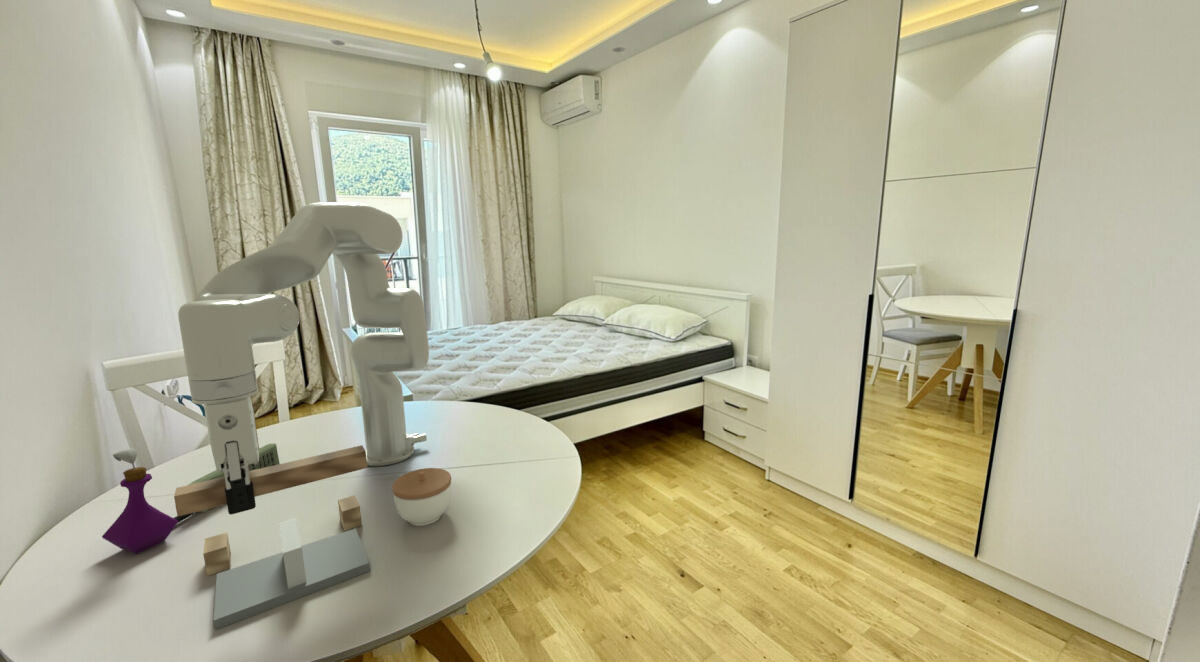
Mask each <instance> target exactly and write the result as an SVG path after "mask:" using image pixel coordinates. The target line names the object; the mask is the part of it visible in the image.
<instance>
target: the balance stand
mask: <svg viewBox="0 0 1200 662" xmlns="http://www.w3.org/2000/svg"><path fill="white" fill-rule="evenodd" d="M278 529H279V536H280V544H281V549H282V551H281V552H280V553H276V554H273V555H270V556H266V557H263V558H260V559H257V560H255V561H251V562H249V563H245V564H242V565H239V566H236V567H234V568H230V569H227V570H224V571H220V572H217V573H216V579H215V580H216V583H215V593H214V594H215V596H214V608H213V609H214V610H213V611H214V612H213V624H214V630H215V631H216V630H219V629H222V628H224V627H226V626H229V625H231V624H234V623H237V622H240V621H242V620H245V619H247V618H251V617H253V616H256V615H258V614H261V613H263V612H266V611H268V610H272V609H274V608H276V607H279V606H282V605H284V604H287V603H289V602H293V601H295V600H297V599H300V598H302V597H305V596H308V595H311V594H313V593H316V592H319V591H322V590H324V589H327V588H329V587H331V586H334V585H336V584H339V583H343V582H344V581H347V580H350V579H352V578H355V577H358V576H361V575H363V574H366V573H369V572H371V563H370V559H369V557H368V555H367V553H366V550H365V547H364V545H363V543H362V540H361V538H360V535H359V534H358V531H357V527H355V528H352V529H349V530H346V531H344V532H339V533H337V534H335V535H331V536H327V537H324V538H322V539H319V540H316V541H312V542H310V543H306V544H304V545H302V543H301V537H300V532H299V528H298V522H297V518H296V517H294V518H289V519H287V520H283V521H280V522H278Z"/></svg>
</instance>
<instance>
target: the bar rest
mask: <svg viewBox="0 0 1200 662" xmlns="http://www.w3.org/2000/svg"><path fill="white" fill-rule="evenodd" d="M337 504H338V512H339V513H338V514H339V520H340V523H341V525H342V527H343V531H344V532H346V531H349V530H352V529H355V528H358V527H361V526H363V524H362V523H363V521H362V514H361V513H362V512H361V505H360V503H359V501H358V499H357V497H356V495H351V496H347V497H344V498H340V499H338V500H337ZM202 553H203V560H204V566H205V571H206V575H207V576H212V575H214V574H218V573H221V572H224V571H227V570H230V569H231V567H232V566H231V562H232V561H231V559H232V551H231V546H230V539H229V534H228V532H223V533H221V534H216V535H213V536H210V537H207V538H204V544H203V552H202Z"/></svg>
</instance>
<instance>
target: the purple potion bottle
mask: <svg viewBox="0 0 1200 662" xmlns="http://www.w3.org/2000/svg"><path fill="white" fill-rule="evenodd" d="M137 454H138V453H137V450H136V449H135V448H129V449H124V450H121V451H118V452H115V453H113V454H112V457H113V458H114V459H115V460H116V461H118V462H121V461H123V462H126V463H128V464H131V465H132V468H128V469H127V470H124V471H123V472H122V474H123V476H124V479H122V480H121V481H120V482H119V484H120V487H123V488H126V489H127V490H128V499H127V502H126V505H125V508H124V509H123V511H122V512H121V513H120V514H119V516H118V517H117V519H116V520H115V521H114V522H113V523H112V525H110V527H108V529H107V530H106V531H105V532H104V533H103V534H102V536H101V538H102V539H104V540H105V541H107V542H109V543H110V544H112V545H114V546H115V547H118V548H119V549H121V550H123V551H125V552H129V553H132V554H136V555H138V554H141V553H143V552H146V551H147V550H149V549H151V548H153V547H155V546H157V545H159V544H162V543H163V542H165V541H166V539H168V537H169V535H170V534H171V533H172V532H173V530H174V529H175V527H176V525H177V524H178V520H176V519H174V517H172V516H170V515H169V514H166V513H164V512H162V511H160V510H159V509H157V508H156V507H155V506H152V505H150V504H149V502H148V501H147V499H146V497H145V492H144V491H145V490H144V489H145V486H146V485H147V483H148V482H150V481H151V480H152V479H153V477H152V475H151V473H147V467H145V466H139V467H138V466H137V467H135V461H136V460H137V457H138V455H137Z"/></svg>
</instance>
